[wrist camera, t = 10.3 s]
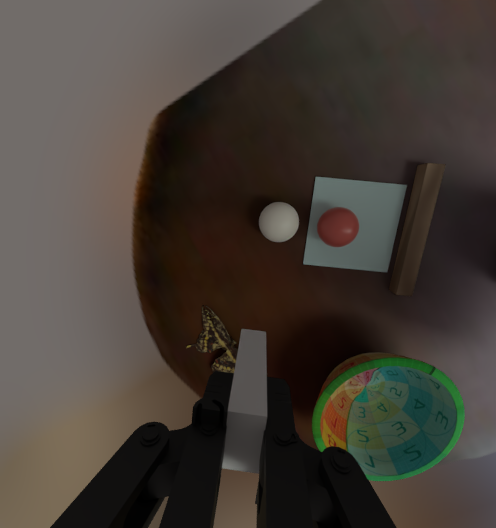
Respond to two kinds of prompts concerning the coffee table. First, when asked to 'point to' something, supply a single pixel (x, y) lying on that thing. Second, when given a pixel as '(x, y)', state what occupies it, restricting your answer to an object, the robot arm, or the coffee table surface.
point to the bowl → (388, 414)
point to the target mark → (370, 223)
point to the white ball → (278, 221)
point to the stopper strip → (416, 227)
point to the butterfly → (217, 343)
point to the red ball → (338, 227)
